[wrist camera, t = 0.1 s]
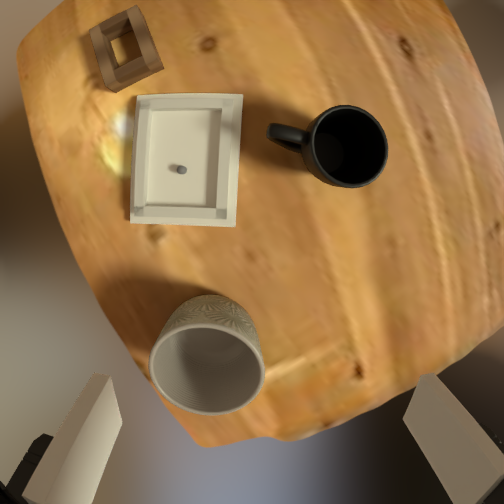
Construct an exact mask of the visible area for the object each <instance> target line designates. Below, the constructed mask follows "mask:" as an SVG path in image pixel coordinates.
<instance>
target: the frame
mask: <svg viewBox="0 0 504 504" xmlns="http://www.w3.org/2000/svg"><path fill="white" fill-rule="evenodd" d="M131 30H133V31H134V33H135V36H136V39H137V42H138V44H139V47H140V50H141V53H142V56H140V57H138V58H136V59H134V60H132V61H130V62H128V63H127V64H125V65H123V66H121V67H119V66H118V63H117V60H116V57H115V54H114V51H113V48H112V45H111V42H110V41H112V40H114V39H116V38H118V37H119V36H121V35H123V34H125V33H127V32H129V31H131ZM89 32H90V36H91V40H92V43H93V47H94V50H95V54H96V57H97V61H98V64H99V67H100V70H101V74H102V77H103V80H104V83H105V86H106V87H107V88H109V89H110V90H112V91H114V92H115V93H117V92H119V91H120V90H122V89H124V88H126V87H128V86H130V85H132V84H134V83H136V82H138V81H140V80H142V79H144V78H146V77H148V76H150V75H152V74H154V73H156V72H158V71H160V70H163V69H164V67H163V64H162V62H161V59H160V57H159V54H158V52H157V49H156V47H155V44H154V41H153V39H152V36H151V34H150V31H149V29H148V26H147V24H146V21H145V18H144V16H143V14H142V13H141V11H140V9H139V8H138V6H137V5H135V6H133V7H131V8H129V9H127V10H125V11H123V12H121V13H119V14H117V15H115V16H113V17H111V18H109V19H108V20H106V21H104V22H102V23H100V24H99V25H97V26H95V27H93V28H92V29H90V30H89Z"/></svg>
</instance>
